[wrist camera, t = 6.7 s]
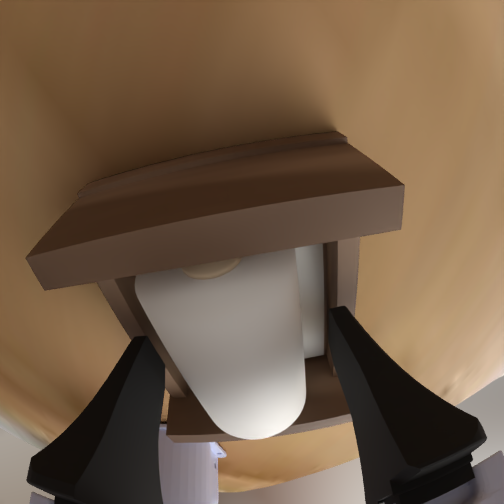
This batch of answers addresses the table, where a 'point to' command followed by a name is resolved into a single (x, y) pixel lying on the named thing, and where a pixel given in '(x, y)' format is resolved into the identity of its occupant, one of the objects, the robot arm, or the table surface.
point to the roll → (234, 337)
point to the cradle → (231, 245)
